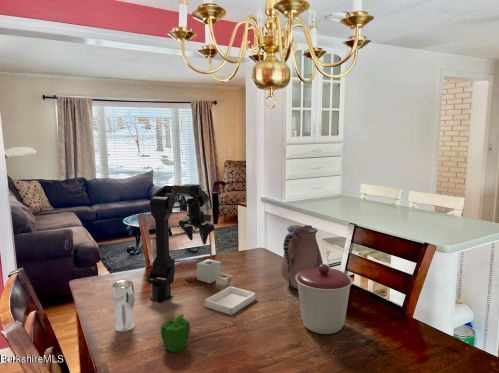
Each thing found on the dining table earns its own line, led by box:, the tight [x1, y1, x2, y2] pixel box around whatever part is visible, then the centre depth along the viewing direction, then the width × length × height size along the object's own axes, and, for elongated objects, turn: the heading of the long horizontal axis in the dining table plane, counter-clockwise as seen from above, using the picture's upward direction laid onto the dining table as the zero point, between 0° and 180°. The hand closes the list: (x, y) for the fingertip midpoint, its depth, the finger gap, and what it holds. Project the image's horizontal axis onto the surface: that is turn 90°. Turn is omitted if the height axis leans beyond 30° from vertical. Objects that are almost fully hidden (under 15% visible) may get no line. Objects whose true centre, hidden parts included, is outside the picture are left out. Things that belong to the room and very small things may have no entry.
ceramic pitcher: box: [280, 224, 324, 290], centre depth 151 cm, size 18×21×25 cm
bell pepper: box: [160, 313, 191, 353], centre depth 108 cm, size 8×8×10 cm
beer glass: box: [111, 279, 135, 333], centre depth 120 cm, size 7×7×15 cm
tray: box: [204, 286, 257, 316], centre depth 138 cm, size 16×13×2 cm
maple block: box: [215, 273, 234, 291], centre depth 152 cm, size 5×5×5 cm
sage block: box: [196, 258, 222, 284], centre depth 162 cm, size 8×8×8 cm
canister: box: [295, 263, 353, 335], centre depth 119 cm, size 18×18×21 cm
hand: (198, 242), depth 170 cm, fingers open, 9 cm apart
